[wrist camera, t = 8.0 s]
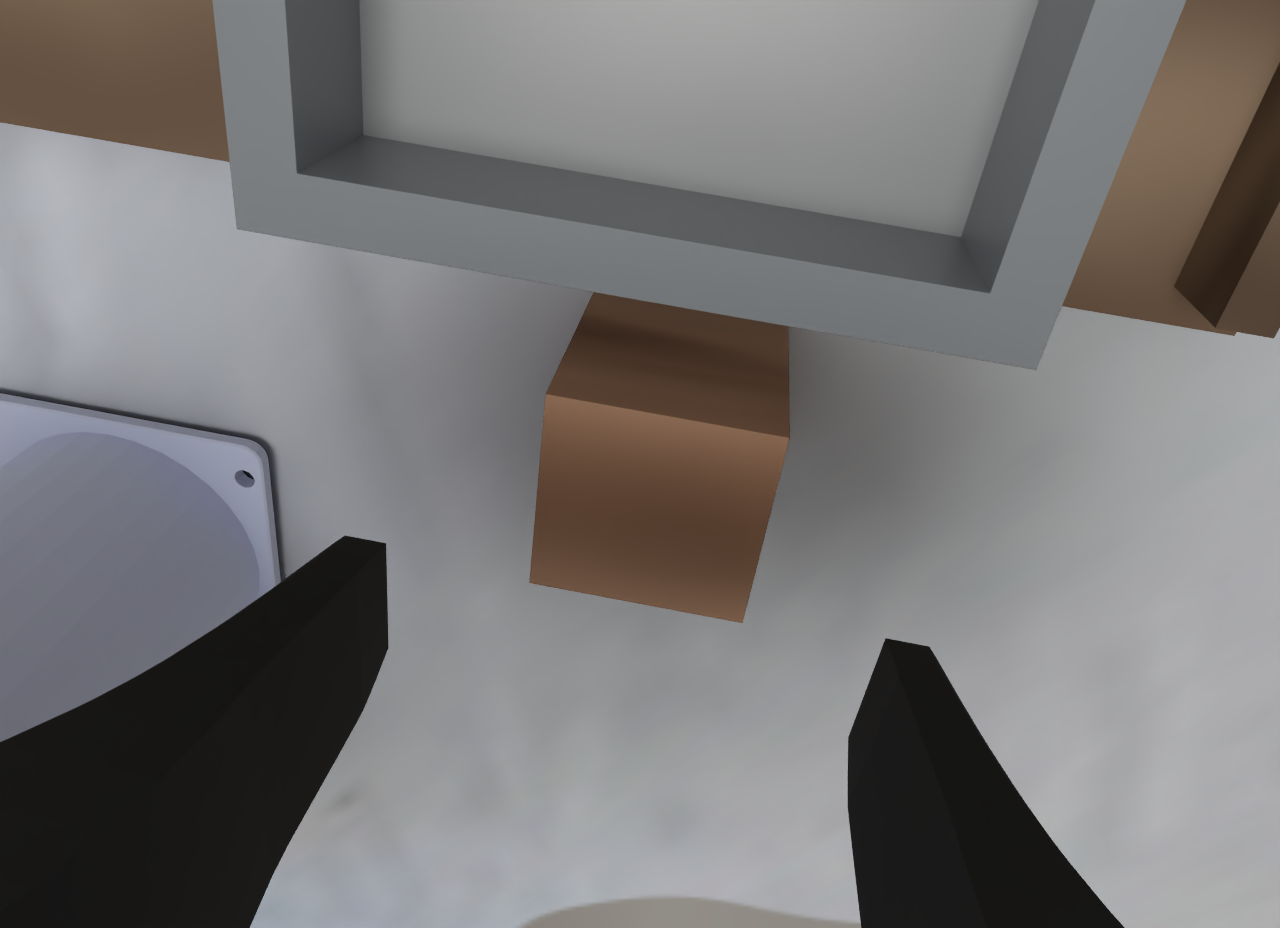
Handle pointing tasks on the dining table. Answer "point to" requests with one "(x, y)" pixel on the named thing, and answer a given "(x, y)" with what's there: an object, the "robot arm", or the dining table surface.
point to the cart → (706, 148)
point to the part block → (661, 456)
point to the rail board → (1107, 273)
